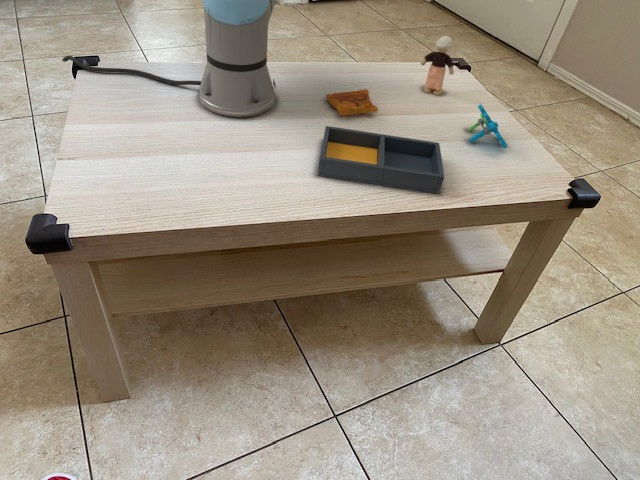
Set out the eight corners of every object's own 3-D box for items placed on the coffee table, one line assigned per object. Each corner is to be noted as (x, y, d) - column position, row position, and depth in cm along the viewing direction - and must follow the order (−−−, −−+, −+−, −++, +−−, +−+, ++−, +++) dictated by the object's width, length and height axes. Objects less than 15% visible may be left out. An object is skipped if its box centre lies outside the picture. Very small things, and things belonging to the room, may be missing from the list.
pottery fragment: (341, 108, 96) (326, 77, 102) (336, 126, 100) (322, 95, 105) (386, 106, 100) (369, 77, 105) (379, 123, 103) (363, 94, 109)
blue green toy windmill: (515, 152, 94) (491, 113, 90) (487, 169, 96) (463, 131, 92) (501, 130, 103) (478, 93, 99) (475, 146, 105) (452, 110, 101)
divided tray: (317, 175, 84) (319, 158, 82) (323, 142, 92) (325, 125, 90) (438, 193, 84) (444, 177, 82) (434, 158, 92) (439, 142, 90)
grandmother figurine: (447, 90, 115) (463, 36, 106) (446, 97, 112) (463, 42, 103) (415, 83, 116) (429, 29, 107) (413, 90, 113) (428, 35, 104)
